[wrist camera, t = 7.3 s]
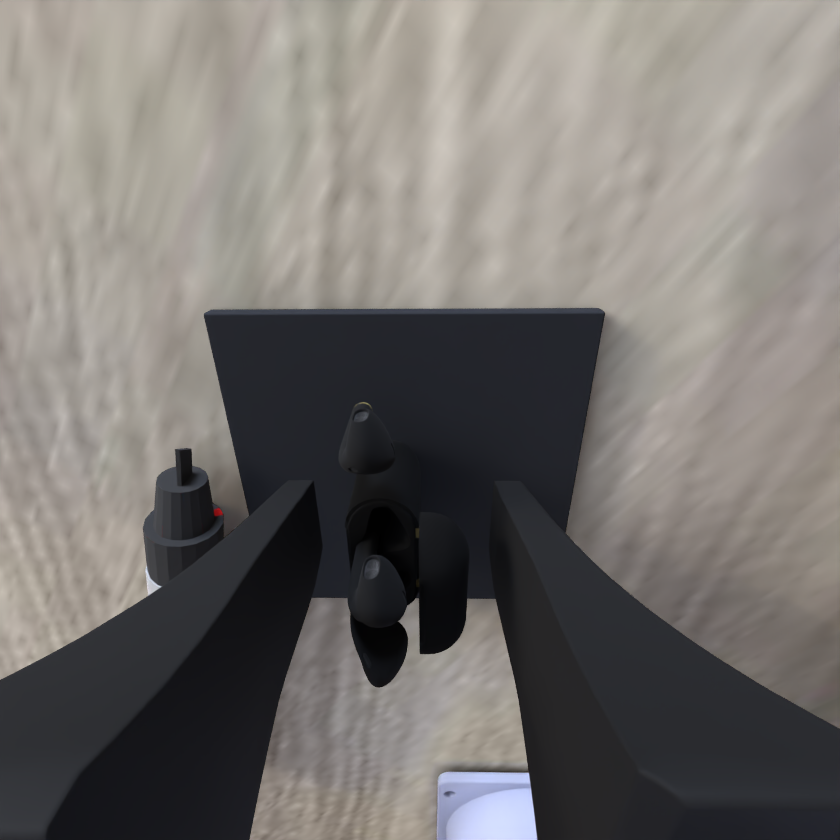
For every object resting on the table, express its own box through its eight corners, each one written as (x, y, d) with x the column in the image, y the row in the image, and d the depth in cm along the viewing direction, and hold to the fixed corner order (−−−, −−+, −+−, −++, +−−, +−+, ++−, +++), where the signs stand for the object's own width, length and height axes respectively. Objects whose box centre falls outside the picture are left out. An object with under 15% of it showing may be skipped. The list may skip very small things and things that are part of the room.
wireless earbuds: (354, 356, 11) (300, 480, 6) (461, 355, 11) (487, 481, 6) (371, 575, 14) (344, 762, 9) (453, 576, 14) (466, 764, 9)
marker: (232, 746, 19) (212, 804, 17) (183, 740, 19) (158, 798, 17) (237, 430, 12) (203, 472, 10) (160, 416, 12) (113, 457, 10)
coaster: (550, 589, 15) (553, 599, 14) (271, 588, 15) (267, 597, 14) (599, 307, 10) (606, 312, 10) (210, 309, 11) (202, 313, 10)
